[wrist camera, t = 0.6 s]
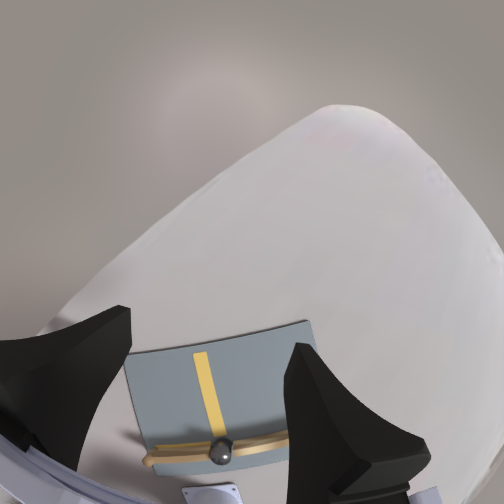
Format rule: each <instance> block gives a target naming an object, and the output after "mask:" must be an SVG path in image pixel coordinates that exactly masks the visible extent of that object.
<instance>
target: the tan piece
mask: <svg viewBox="0 0 504 504" xmlns="http://www.w3.org/2000/svg"><path fill="white" fill-rule="evenodd" d="M286 446H289V437H288V429H287V430H283V431H279V432H275V433H271V434H267V435H262V436H257V437H252V438H247V439H242V440H236V441H233V450H232V451H233V454H234V457H238V456H243V455H249V454H254V453H259V452H264V451H269V450H273V449H277V448H282V447H286Z"/></svg>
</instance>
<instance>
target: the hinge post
mask: <svg viewBox="0 0 504 504" xmlns="http://www.w3.org/2000/svg"><path fill="white" fill-rule="evenodd" d="M231 454H232V442H231V441H230V440H229V439H227V438H218V439H217V440H216V441H215V442H214V446H213V450H212V453H211V460H212V462H213V463H215V464H217V465H221V466H223V465H227V464H228V463H229V462H230V461H231Z"/></svg>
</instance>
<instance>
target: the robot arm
mask: <svg viewBox="0 0 504 504" xmlns="http://www.w3.org/2000/svg"><path fill="white" fill-rule="evenodd" d="M131 346H132V335H131V310H130V308H128V307H124V306H121V305H117V306H114V307H112V308H110V309H107V310H105V311H103V312H101V313H99V314H97V315H95V316H93V317H90V318H88V319H86V320H84V321H82V322H79V323H77V324H74V325H72V326H69V327H67V328H64V329H61V330H58V331H55V332H52V333H48V334H45V335H41V336H36V337H30V338H25V339H17V340H4V341H0V486H1V487H2V488H3V489H4V490H6V491H7V492H8V493H9V494H11V495H12V496H13V497H14V498H16V499H17V500H18V501H20V502H21V503H22V504H157V503H153V502H150V501H146V500H143V499H140V498H137V497H134V496H131V495H128V494H126V493H123V492H120V491H117V490H115V489H112V488H110V487H107V486H105V485H103V484H100V483H98V482H96V481H94V480H91V479H89V478H87V477H85V476H83V475H81V474H79V473H77V472H76V471H77V466H78V462H79V458H80V454H81V450H82V447H83V444H84V441H85V438H86V435H87V432H88V429H89V426H90V424H91V421H92V419H93V416H94V414H95V412H96V409H97V407H98V405H99V403H100V401H101V399H102V397H103V395H104V394H105V392H106V391H107V389H108V387H109V386H110V384H111V383H112V381H113V379H114V378H115V376H116V375H117V373H118V372H119V370H120V368H121V367H122V365H123V363H124V362H125V360H126V357H127V355H128V353H129V351H130V348H131ZM283 396H284V405H285V413H286V421H287V429H288V437H289V475H288V491H287V502H286V504H443V501H442V499H441V496H440V493H439V490H438V488H437V487H436V486H435V487H432V488H429V489H426V490H424V491H421V492H418V493H415V494H413V495H411V496H409V497H408V496H407V493H406V491H408V490H409V489H410V485H409V482H408V481H410V480H411V479H412V478H413V477H415V476H416V475H417V474H418V473H419V472H420V471H422V470H423V469H424V468H425V467H426V466H427V465H428V463H429V462H430V460H431V454H430V452H429V450H428V448H427V445H426V443H425V441H424V439H423V438H420V437H418V436H416V435H413V434H411V433H409V432H406V431H404V430H402V429H400V428H398V427H397V426H395V425H393V424H391V423H389V422H388V421H386V420H385V419H383V418H381V417H380V416H378V415H377V414H376V413H374V412H373V411H371V410H370V409H369V408H367V407H366V406H365V405H364V404H363V403H361V402H360V401H359V400H358V399H357V398H356V397H355V396H353V395H352V394H351V393H350V392H349V391H348V390H347V389H346V388H345V387H344V386H343V384H342V383H341V382H340V381H339V380H338V379H337V378H336V377H335V376H334V374H333V373H332V372H331V371H330V369H329V368H328V367H327V366H326V364H325V363H324V362H323V361H322V359H321V358H320V357H319V355H318V354H317V353H316V351H315V350H314V349H313V347H312V346H311V345H310V344H307V343H299V342H296V343H295V346H294V349H293V352H292V355H291V358H290V360H289V363H288V366H287V369H286V371H285V374H284V385H283ZM232 488H235V489H232ZM182 492H183V494H184V497H185V499H186V501H187V504H243V502H242V500H241V497H240V494H239V491H238V488H237V486H236V484H234V483H232V484H224V485H214V486H203V487H185V488H183V489H182ZM185 492H187V493H185Z"/></svg>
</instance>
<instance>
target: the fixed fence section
mask: <svg viewBox="0 0 504 504" xmlns="http://www.w3.org/2000/svg"><path fill="white" fill-rule="evenodd" d="M212 450H213V449H212V445H211V444H209V445H200V446H190V447H176V448H157V447H154V448H152V449H151V451H150V452H149V453H148V454H147V455H146V456H145V457H144V458H143V459H142V462H143V464H144V465H145V466H147V467H151V466H152V465H153V464H155V463H184V462H198V461H208V460H210V459H211V453H212Z"/></svg>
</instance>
